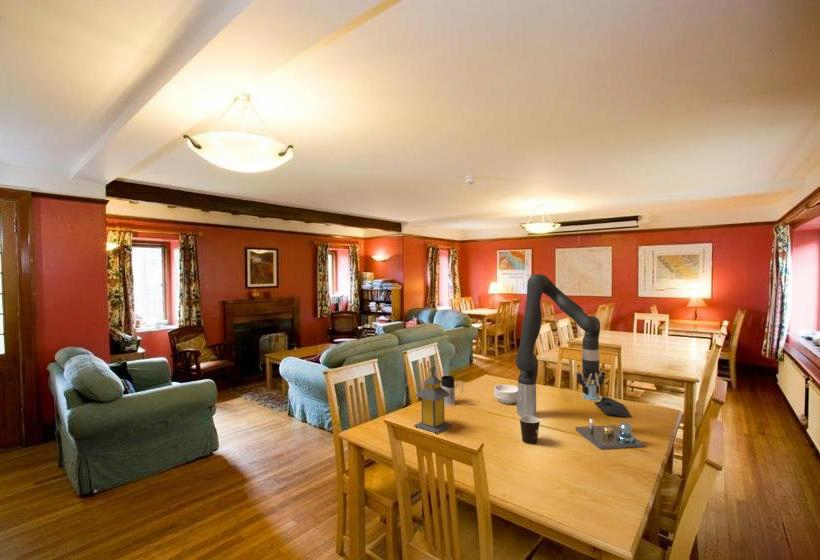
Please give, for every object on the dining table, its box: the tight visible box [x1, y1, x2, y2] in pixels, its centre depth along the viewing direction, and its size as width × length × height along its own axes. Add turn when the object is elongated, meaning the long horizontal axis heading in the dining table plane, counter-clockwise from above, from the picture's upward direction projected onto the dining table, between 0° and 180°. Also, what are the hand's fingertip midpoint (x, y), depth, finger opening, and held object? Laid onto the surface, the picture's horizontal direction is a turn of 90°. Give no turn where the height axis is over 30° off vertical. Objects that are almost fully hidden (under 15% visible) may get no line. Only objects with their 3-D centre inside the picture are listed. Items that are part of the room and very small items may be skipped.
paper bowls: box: [493, 384, 518, 405], centre depth 226 cm, size 15×15×8 cm
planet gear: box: [581, 382, 601, 402], centre depth 184 cm, size 8×8×7 cm
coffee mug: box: [519, 416, 541, 445], centre depth 174 cm, size 12×9×10 cm
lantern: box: [414, 366, 453, 435], centre depth 191 cm, size 14×14×30 cm
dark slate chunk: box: [593, 395, 633, 418], centre depth 210 cm, size 15×22×5 cm
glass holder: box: [440, 375, 464, 406], centre depth 223 cm, size 9×14×15 cm, turn 54°
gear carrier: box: [575, 418, 645, 450], centre depth 175 cm, size 20×20×8 cm
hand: (591, 393), depth 184 cm, fingers closed on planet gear, 4 cm apart
